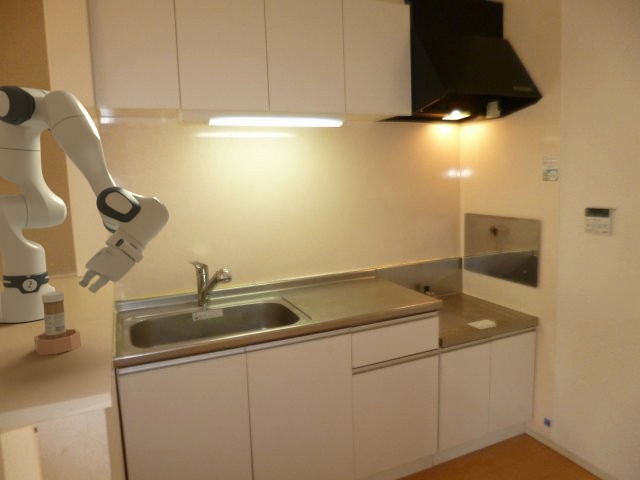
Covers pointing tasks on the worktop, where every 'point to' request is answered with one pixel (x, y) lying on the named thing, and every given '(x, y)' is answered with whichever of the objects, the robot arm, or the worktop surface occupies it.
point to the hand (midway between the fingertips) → (85, 288)
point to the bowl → (57, 343)
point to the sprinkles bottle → (54, 315)
